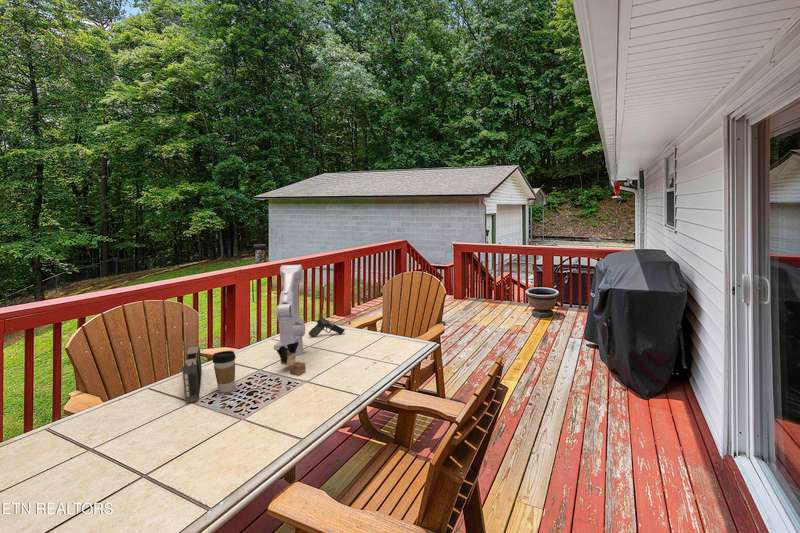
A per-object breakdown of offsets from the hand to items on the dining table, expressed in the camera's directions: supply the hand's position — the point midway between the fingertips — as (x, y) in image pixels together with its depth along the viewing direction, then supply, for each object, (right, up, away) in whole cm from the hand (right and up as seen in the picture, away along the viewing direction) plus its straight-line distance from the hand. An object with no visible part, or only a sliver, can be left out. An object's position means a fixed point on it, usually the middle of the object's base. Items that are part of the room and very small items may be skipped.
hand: (288, 360), depth 179 cm
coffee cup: (-19, -7, -19) cm, 28 cm away
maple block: (0, -1, 0) cm, 1 cm away
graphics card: (-34, -7, -15) cm, 38 cm away
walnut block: (+6, -4, -6) cm, 9 cm away
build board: (+3, -5, -4) cm, 7 cm away
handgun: (+8, +2, +49) cm, 50 cm away
